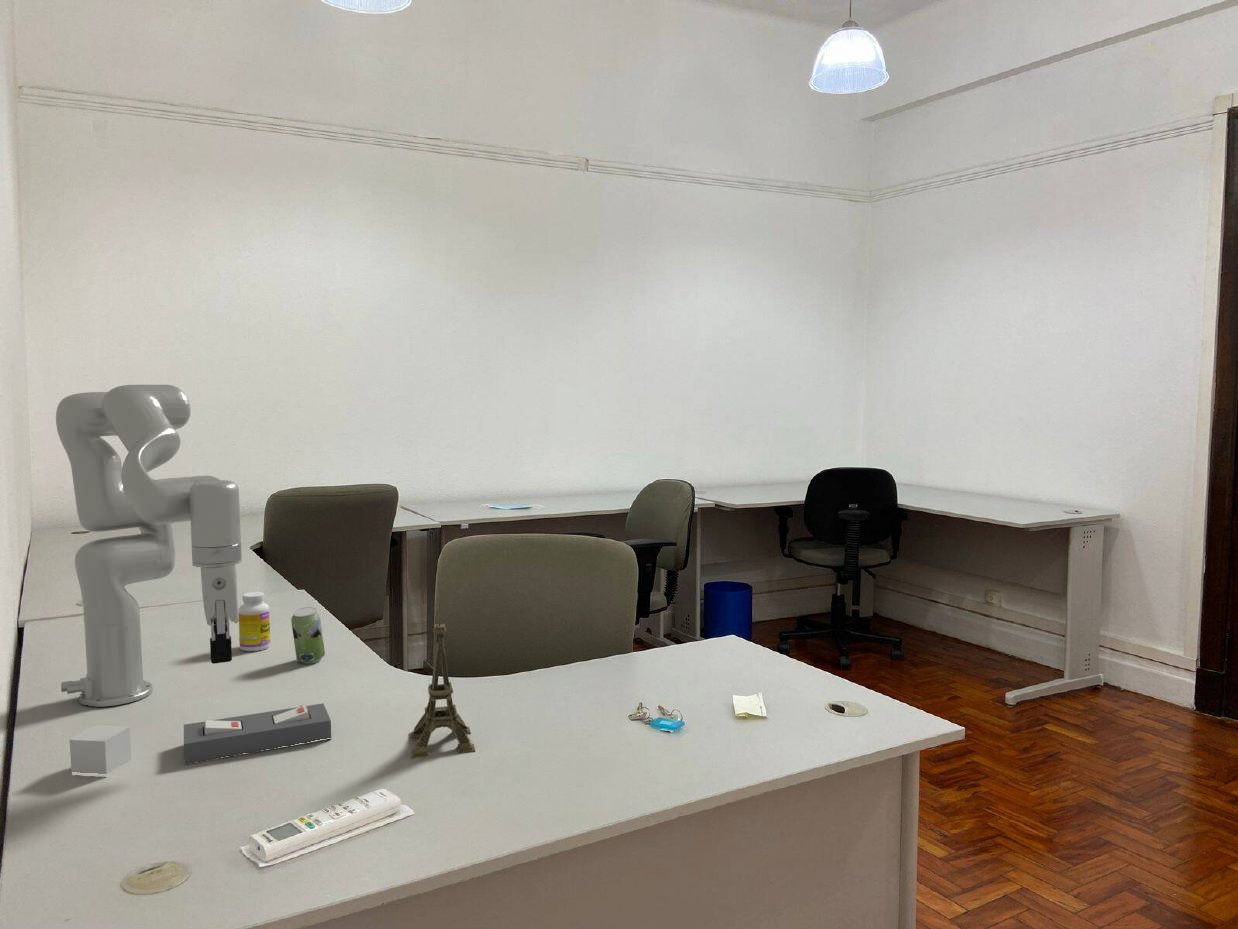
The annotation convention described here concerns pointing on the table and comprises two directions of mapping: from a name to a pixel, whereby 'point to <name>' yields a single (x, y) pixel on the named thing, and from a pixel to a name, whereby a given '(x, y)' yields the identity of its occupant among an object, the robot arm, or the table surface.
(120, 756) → the pale grey cube
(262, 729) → the rocker switch panel
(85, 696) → the robot arm
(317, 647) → the beverage can
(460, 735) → the eiffel tower
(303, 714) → the right rocker
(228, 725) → the left rocker
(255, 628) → the supplement bottle
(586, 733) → the table surface
